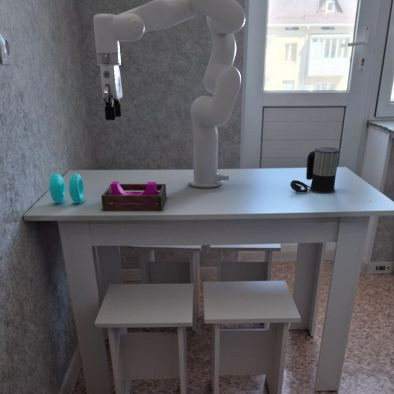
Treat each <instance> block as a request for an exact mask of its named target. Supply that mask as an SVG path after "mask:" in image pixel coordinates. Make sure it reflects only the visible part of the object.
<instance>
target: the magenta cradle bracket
mask: <svg viewBox="0 0 394 394" xmlns="http://www.w3.org/2000/svg"><path fill="white" fill-rule="evenodd" d="M110 184H111V192H112V195H158V192H159V191H158V189H156V184H157V181H147V183H145V184H146V189H145V190H144V191H140V192H141V193H131V192H132V191H124V190H123V189H122V188H121V186H120V184H121V183H120V181H115V180H113V181H111V183H110ZM126 192H128V193H126ZM112 203H124V204H158V202H112Z"/></svg>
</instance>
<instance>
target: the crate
mask: <svg viewBox="0 0 394 394" xmlns="http://www.w3.org/2000/svg"><path fill="white" fill-rule="evenodd" d="M146 184H147V183H120V186H121V188H122V189H123V190H124V191H125V192H126V193H128V192H131V193H141V192H143V191H144V190H145V189H146ZM156 189H158V195H112V192H111V183H110V184H109V186H108V188H106V190H105V191H104V192H103V193H102V194H101V196H100V197H101V207H102V211H112V212H113V211H116V212H117V211H118V212H119V211H126V212H128V211H129V212H131V211H132V212H135V211H138V212H139V211H140V212H143V211H145V212H148V211H149V212H153V211H154V212H162V211H163V206H164V204H165V201H166V199H167V184H166V183H156ZM113 202H158V203H157V204H124V203H113Z"/></svg>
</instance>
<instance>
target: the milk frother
mask: <svg viewBox="0 0 394 394" xmlns="http://www.w3.org/2000/svg"><path fill="white" fill-rule="evenodd" d="M340 152H341V149H340V148H336V147H327V146H326V147H325V146H324V147H323V146H322V147H316V148H315V149H314V150H313V151H311V152H309V154H308V155H307V158H306V171H305V172H306V174H305V175H306V176H305V178H306V180H308V181H311V183H310V186H309V185H308V184H306V183H305V182H302V181H300V180H295V179H293V180H291V181H290V183H289V184H290V185H289V187H290V188H291V189H292V190H293V191H295V193H300V194H301V193H303V194H304V193H308V191H309V190H310V191H311V192H315V193H320V194H330V193H333V192H335V185H336V176H337V171H338V165H339V158H340ZM302 188H303V189H302Z"/></svg>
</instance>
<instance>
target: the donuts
mask: <svg viewBox="0 0 394 394" xmlns="http://www.w3.org/2000/svg"><path fill="white" fill-rule="evenodd" d="M84 186H85V184H84V180H83V178H82V175H80V174H79V173H73V174H71V176H70V178H69V181H68V193H69V196H70V198H71V200H72V202H73V203H75V204H81V203H82V202H83V200H84V197H85V187H84ZM66 191H67V190H66V183H65V181H64V177H63V176H62V175H61V174H59V173H53V174H51V176H50V178H49V195H50V197H51V199H52V201H53V202H54V203H55V204H61V203H63V202H64V201H65V198H66Z"/></svg>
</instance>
